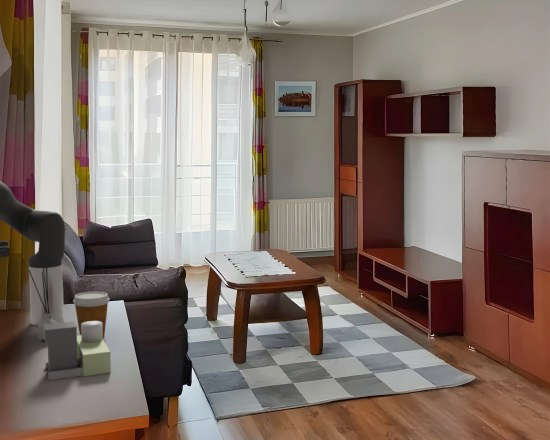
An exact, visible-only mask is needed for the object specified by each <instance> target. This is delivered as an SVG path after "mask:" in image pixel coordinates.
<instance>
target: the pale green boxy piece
mask: <svg viewBox="0 0 550 440" xmlns="http://www.w3.org/2000/svg"><path fill="white" fill-rule="evenodd" d="M77 362H78V366H79V367H78V368H74V369H67V370H59V371H51V372H49V371H47V378H48V380H49V381H53V380H59V379H60V380H61V379H67V378H74V377H75V378H76V377H81V376H83V377H87V376H88V377H89V376H95V375H96V376H97V375H103V374H104V375H105V374H110V373H112V372H111V371H112V370H111V369H112V368H111V366H112V365H111V362H112V361H111V350H110V349H109V347H108V345H107V343H106V342H105V340H104V338H103V327H102V322H100V321H88V322H84V323H82V324H81V335H80V334H79V335H78V334H77ZM45 370H49V368H48V360H46V361H45Z"/></svg>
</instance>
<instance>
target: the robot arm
mask: <svg viewBox="0 0 550 440" xmlns="http://www.w3.org/2000/svg"><path fill="white" fill-rule="evenodd" d="M0 221H1V222H3V223H5V224H6V225H8V226H10V228H11V229H14V230H15V231H16V232H17V233H19V234H20V235H22V237H24V238H25V239H27V240H29V241H31V242H37V243H38V251H37V252H35V253H34V254H32V255H30V256H29V257H28V271H29V270H30V272H31V275H32V277H33V280H34V282H35V284H36V287H37V289H38V292H39V294H40V297H41V299H42V302H43V304H44V306H45V299H44V289H45V282H44V289H43V280H42V272H43V268H44V273H45V281H46V289H47V280H46V266H47V279H48V302H49V312H51V319H52V320H54V321H55V322H56V323H63V322H65V319H64V315H65V313H64V311H65V310H64V287H63V286H64V285H63V284H64V283H63V282H64V280H63V278H64V277H63V257H64V255H65V249H66V248H65V246H66V245H65V243H66V238H65V237H66V226H65V225H66V224H65V221H64V217H62V215H61V214H59V212H56V211H48V210H38V209H34V208H31V207H29V206H27V205H25V204H23V203H22V202H20V201H19V200H18V199H17V198H16V197H15V195H14V193H13V192H12V190H11V188H10V187H9V186H8V185H6V184H5V183H4V182H2V181H1V180H0ZM10 249H11V248H10V247H9V241H7V240H0V258H7V257H10V256H11V250H10ZM28 275H29V276H28V279H29V280H28V282H29V308H30V309H29V311H30V324H31V326H36V327H38V325H39V323H40V322H41V321H42V320H43V319H44V314H43V313H44V312H45V309H46V308H47V312H48V305H47V297H46V290H45V298H46V308H45V309H44V307H43V304H42V302H41V299H40V297H39V295H38V292H37V290H36V287H35V285H34V282H33V280H32V277H31V275H30V273H29V272H28ZM43 279H44V274H43Z"/></svg>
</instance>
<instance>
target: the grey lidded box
mask: <svg viewBox="0 0 550 440" xmlns="http://www.w3.org/2000/svg"><path fill="white" fill-rule="evenodd" d="M43 328H44V339H43V341H44V343H45V344H47V361H48V368H49V369H48V372H51V371H59V370H67V369H74V368H79V365H78V362H77V335H78V333H77V332H78V331H77V330H78V329H77V325H76V322H75V321H74V320H73V321H63V322H62V323H53V324H43Z"/></svg>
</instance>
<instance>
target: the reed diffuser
mask: <svg viewBox="0 0 550 440" xmlns="http://www.w3.org/2000/svg"><path fill="white" fill-rule="evenodd" d="M29 273H30V275H31V272H30V270H29V269H28V274H29ZM43 274H44V279H43ZM31 277H32V275H31ZM32 280H33V277H32ZM42 280H43V289H44V282H45V289H44V299H45V306H44V304H43V302H42V299H41V297H40V294H39V292H38V289H37V287H36V284H35V282H34V280H33V282H34V285H35V287H36V290H37V292H38V295H39V297H40V299H41V302H42V304H43V307H44V309H45V308H46V298H45V290H46V297H47V305H48V312H47V308H46V309H45V312H44V313H43V314H44V319H43V320H42V321H41V322H40V323H39V325H38V326H37V329H38V338H39V339H40V340H44V328H43V324H53V323H56V322H55V321H54V320H52V319H51V312H49V302H48V279H47V266H46V280H47V289H46V281H45V273H44V268H43V272H42Z"/></svg>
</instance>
